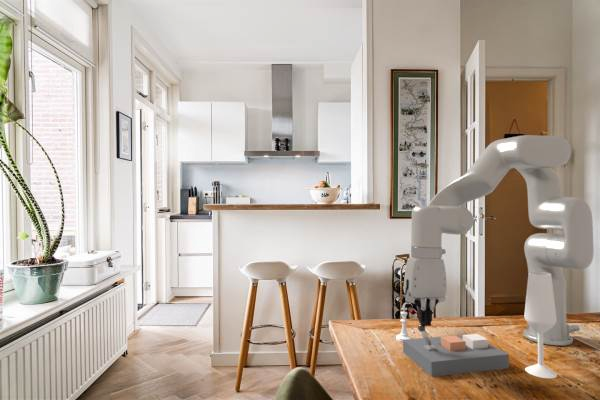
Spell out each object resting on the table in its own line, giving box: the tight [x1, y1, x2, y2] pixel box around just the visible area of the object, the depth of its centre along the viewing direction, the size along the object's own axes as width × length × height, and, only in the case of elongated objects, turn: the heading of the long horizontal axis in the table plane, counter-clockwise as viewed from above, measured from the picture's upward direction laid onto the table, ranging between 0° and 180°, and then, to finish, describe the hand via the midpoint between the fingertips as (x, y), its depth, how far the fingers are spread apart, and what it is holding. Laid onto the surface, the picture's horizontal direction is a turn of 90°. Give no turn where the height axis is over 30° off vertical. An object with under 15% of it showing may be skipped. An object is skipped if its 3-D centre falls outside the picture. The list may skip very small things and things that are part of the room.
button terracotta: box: [440, 335, 466, 351], centre depth 102 cm, size 4×4×2 cm
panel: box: [402, 333, 510, 377], centre depth 102 cm, size 21×15×4 cm
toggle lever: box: [417, 323, 432, 346], centre depth 100 cm, size 2×2×6 cm
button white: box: [462, 333, 489, 349], centre depth 103 cm, size 4×4×2 cm
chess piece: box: [395, 305, 413, 343], centre depth 117 cm, size 5×5×10 cm
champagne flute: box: [523, 272, 558, 379], centre depth 94 cm, size 7×7×24 cm
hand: (425, 324), depth 100 cm, fingers closed
